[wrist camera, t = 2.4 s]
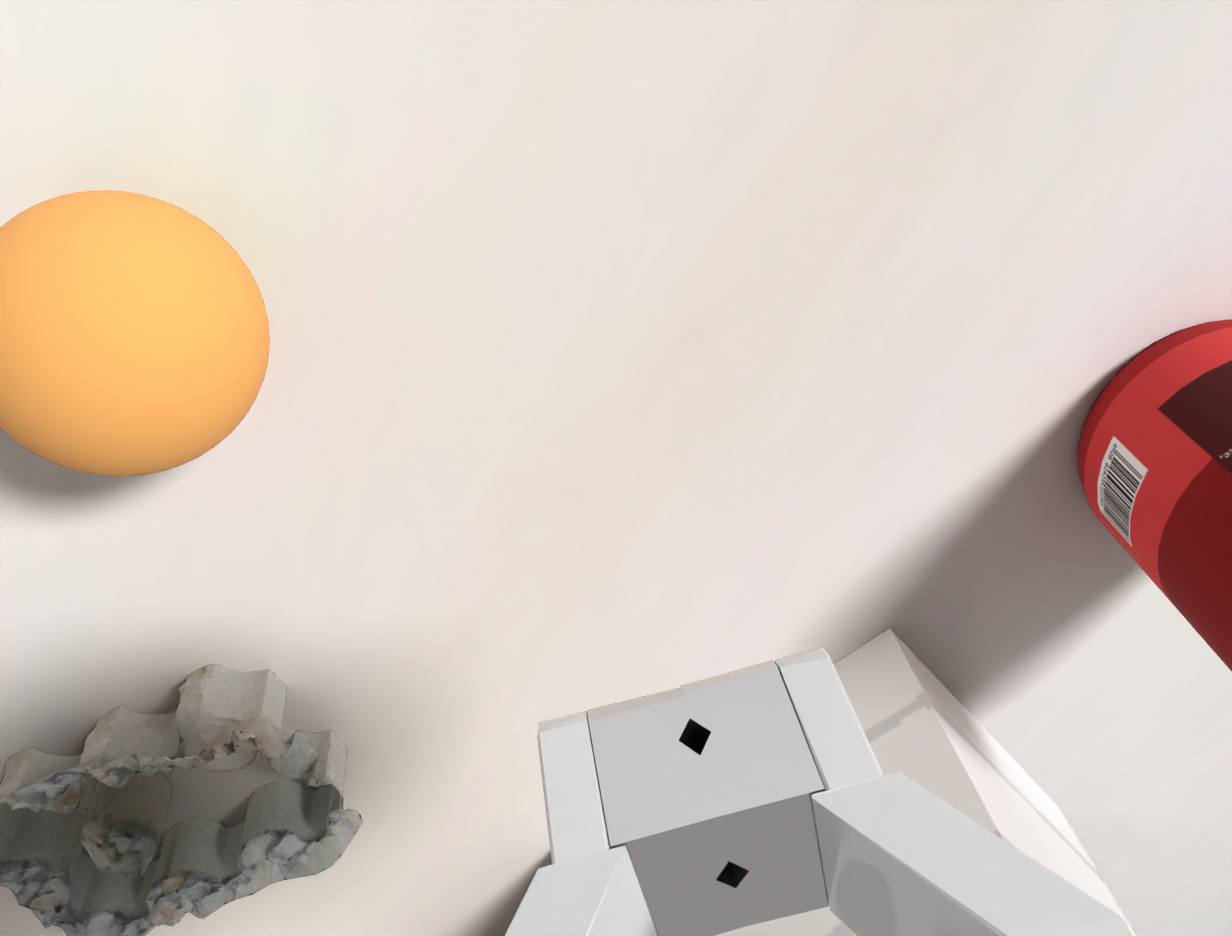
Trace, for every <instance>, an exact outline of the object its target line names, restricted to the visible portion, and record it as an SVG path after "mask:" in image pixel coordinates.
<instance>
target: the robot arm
mask: <svg viewBox="0 0 1232 936" xmlns="http://www.w3.org/2000/svg"><path fill="white" fill-rule="evenodd" d="M537 738H538V747H539V755H540V764H541V772H542V781H543V790H544V798H545V807H546V815H547V824H548V833H549V841H550V850H551V858H552V865H548V866H545V867H542V868H538V869H537V871H536V873H535V875H534V877H533V879H532V881H531V883H530V885H529V887H528V889H527V891H526V893H525V895H524V898H523V900H522V902H521V904H520V906H519V908H518V910H517V912H516V914H515V916H514V918H513V920H512V922H511V924H510V926H509V928H508V930H507V932H506V934H505V936H716V935H719V934H722V933H726V932H729V931H732V930H736V929H739V928H742V927H746V926H750V925H754V924H758V923H763V922H767V921H771V920H775V919H779V918H783V917H787V916H792V915H796V914H800V913H804V912H808V911H812V910H817V909H821V908H825V907H830V911H831V912H832V913H833V914H834V915H835V916H836V917H838V918H839V919H840V920H841V921H842V922H843V923H844V924H845V925H846V926H847V927H848V928H850V929H851V930H852V931H853V932H854V933H855V934H856V935H857V936H1133V935H1132V933H1131V932H1130V930H1129V928H1128V927H1127V925H1126V923H1125V922H1124V920H1123V918H1122V917H1121V916H1120V915H1119V914H1117V913H1115V912H1114V911H1112V910H1111V909H1109V908H1108V907H1106V906H1105V905H1103V904H1102V903H1100V902H1099V901H1097V900H1095V899H1094V898H1092V897H1091V896H1089V895H1088V894H1086V893H1085V892H1083V891H1082V890H1080V889H1078V888H1077V887H1075V886H1074V885H1072V884H1071V883H1069V882H1068V881H1066V880H1065V879H1063V878H1062V877H1060V876H1058V875H1057V874H1055V873H1054V872H1052V871H1051V870H1049V869H1048V868H1046V867H1045V866H1043V865H1042V864H1040V863H1038V862H1037V861H1035V860H1034V859H1032V858H1031V857H1029V856H1028V855H1026V854H1025V853H1023V852H1022V851H1020V850H1018V849H1017V848H1015V847H1014V846H1012V845H1011V844H1009V843H1008V842H1006V841H1005V840H1003V839H1001V838H1000V837H998V836H997V835H995V834H994V833H992V832H991V831H989V830H988V829H986V828H985V827H983V826H981V825H980V824H978V823H977V822H975V821H974V820H972V819H971V818H969V817H968V816H966V815H965V814H963V813H961V812H960V811H958V810H957V809H955V808H954V807H952V806H951V805H949V804H948V803H946V802H945V801H943V800H941V799H940V798H938V797H937V796H935V795H934V794H932V793H931V792H929V791H928V790H926V789H925V788H923V787H921V786H920V785H918V784H917V783H915V782H914V781H912V780H911V779H909V778H908V777H906V776H905V775H903V774H901V773H900V772H895V773H891V774H886V775H884V774H883V772H882V770H881V768H880V766H879V763H878V761H877V759H876V757H875V755H874V752H873V750H872V748H871V746H870V744H869V741H868V739H867V737H866V735H865V733H864V730H863V728H862V726H861V724H860V722H859V719H858V717H857V715H856V713H855V711H854V709H853V706H852V704H851V702H850V700H849V698H848V695H847V693H846V691H845V689H844V687H843V684H842V682H841V680H840V678H839V676H838V673H837V671H836V669H835V667H834V665H833V662H832V660H831V658H830V656H829V654H828V653H827V652H826V651H825V650H824V649H823V648H822V647H821V648H817V649H814V650H810V651H806V652H803V653H799V654H795V655H792V656H788V657H784V658H781V659H777V660H775V662H773V661H772V660H771V661H767V662H764V663H760V664H757V665H753V666H750V667H746V668H743V669H739V670H736V671H732V672H728V673H725V674H721V675H718V676H714V677H711V678H707V679H704V680H700V681H696V682H693V683H689V684H686V685H682V686H681V687H680V688H676V689H672V690H668V691H664V692H660V693H656V694H652V695H647V696H643V697H639V698H635V699H631V700H627V701H623V702H618V703H614V704H610V705H606V706H602V707H598V708H594V709H590V710H588V711H584V712H580V713H576V714H572V715H568V716H564V717H560V718H556V719H552V720H548V721H544V722H540V723H539V727H538V736H537ZM745 925H746V926H745Z"/></svg>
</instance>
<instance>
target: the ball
mask: <svg viewBox="0 0 1232 936" xmlns="http://www.w3.org/2000/svg"><path fill="white" fill-rule="evenodd" d="M269 342H270V337H269V325H268V319H267V314H266V310H265V306H264V302H263V299H262V296H261V293H260V291H259V288H258V286H257V284H256V282H255V280H254V278H253V276H252V275H251V273H250V271H249V269H248V268H247V266H246V264H245V263H244V262H243V260H242V259H241V258H240V256H239V255H238V253H237V252H236V251H235V250H234V249H233V248H232V246H231V245H230V244H229V243H228V242H227V241H226V240H225V239H224V238H223V237H222V236H221V235H220V234H218V233H217V232H216V231H215V230H214V229H213V228H211V227H210V226H209V225H207V224H206V223H204V222H203V221H201V220H200V219H199V218H197V217H196V216H194V215H192V214H190V213H188V212H187V211H185V210H183V209H181V208H179V207H177V206H174V205H172V204H169V203H167V202H165V201H162V200H159V199H156V198H152V197H149V196H145V195H141V194H135V193H129V192H123V191H88V192H77V193H72V194H67V195H62V196H59V197H56V198H53V199H50V200H47V201H44V202H42V203H39V204H37V205H35V206H33V207H31V208H29V209H27V210H25V211H23V212H21V213H19V214H18V215H16V216H15V217H14V218H12V219H11V220H10V221H8V222H7V223H5V224H4V225H3V226H2V227H1V228H0V428H1V429H2V430H3V431H4V432H5V433H7V434H8V435H9V436H10V437H12V438H13V439H14V440H15V441H16V442H18V443H19V444H21V445H22V446H24V447H25V448H27V449H28V450H30V451H31V452H33V453H35V454H37V455H39V456H41V457H43V458H44V459H46V460H49V461H51V462H54V463H56V464H58V465H61V466H64V467H67V468H70V469H74V470H77V471H81V472H86V473H91V474H98V475H108V476H132V475H143V474H150V473H155V472H160V471H164V470H167V469H170V468H173V467H177V466H179V465H182V464H184V463H187V462H189V461H191V460H193V459H195V458H197V457H199V456H201V455H203V454H204V453H206V452H207V451H209V450H210V449H212V448H213V447H215V446H216V445H217V444H219V443H220V442H221V441H222V440H223V439H225V438H226V437H227V436H228V435H229V434H230V433H231V432H232V431H233V430H234V429H235V428H236V427H237V426H238V424H239V423H240V422H241V421H242V420H243V418H244V417H245V416H246V414H247V413H248V411H249V410H250V408H251V406H252V405H253V403H254V401H255V399H256V397H257V395H258V392H259V390H260V387H261V385H262V382H263V380H264V377H265V373H266V368H267V364H268V355H269Z"/></svg>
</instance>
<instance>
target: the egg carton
mask: <svg viewBox="0 0 1232 936" xmlns="http://www.w3.org/2000/svg"><path fill="white" fill-rule="evenodd" d="M179 691H180V703H179V706H178V708H177V710H176V711H173V712H170V713H167V714H145V713H139V712H136V711H133V710H131V709H128V708H127V707H125V706H123V705H120V706H118V707H116V708H115V709H113V710H112V711H110V712H109V713H107V714H106V715H105V716H103V717H102V718H101V719H99V720H98V721H97V723H96V726H95V728H94V729H93V731H92V732H91V733H90V734H89V735H88V737H87V738H86V740H85V747H84V750H83V753H82V754H78V755H74V756H58V755H52V754H47V753H44V752H42V751H39V750H37V749H35V748H33V747H31V748H28V749H25V750H22V751H20V752H19V753H17V754H14V755H13V756H11V757H10V758H9V759H7V760H6V767H5V775H4V778H3V780H2V783H1V785H0V886H4V887H8V888H9V889H10V890H11V891H12V892H13V893H14V895H15V896H16V898H17V900H18V903H19V905H20V906H24V907H26V908H29V909H31V910H32V912H33V913H34V914H35V915H36V917H37V918H38V919H39V920H40V921H41V922H42V924H43V926H44V927H45V929H46V928H48V927H50V926H52V925H55V926H58V927H61V928H63V930H64V932H65V934H66V935H67V936H145V935H146V934H148V933H149V932H150V931H151V930H152V929H153V928H154V927H155V926H159V925H163V924H164V925H168V926H173V925H175V924H176V923H178V922H179V921H180V920H181V919H182V917H183V916H184V915H185V913H187V912H190V913H192V914H193V915H195V916H196V917H198V918H201V919H204V918H205V917H207V916H208V915H210V914H211V913H213V912H214V911H216V910H217V909H219V908H220V907H221V906H223V905H225V904H227V903H229V902H231V901H233V900H236V899H239V898H242V897H245V896H249V895H252V894H254V893H256V892H258V891H259V890H261V889H263V888H264V887H266V886H268V885H269V884H272V883H275V882H279V881H282V880H286V879H292V878H298V877H304V876H310V875H316V874H318V873H320V872H322V871H324V870H326V869H327V868H329V867H331V866H332V865H333V864H334V863H335V862H336V861H337V860H338V859H339V858H340V857H341V855H342V854H343V852H344V850H345V849H346V847H347V846H348V844H349V843H350V841H351V840H352V838H353V837H354V835H355V834H356V832H357V830H358V829H359V827H360V825H361V824H362V822H363V821H362V818H361V815H360V813H359V812H358V811H357V810H351V809H346V810H343V799H344V798H343V796H342V794H343V792H344V789H343V788H344V780H345V775H346V757H347V749H346V746H345V744H344V742H343V741H342V740H341V739H340V738H339V737H338V736H337V734H336V733H335V732H334V731H332V730H327V731H323V732H316V733H303V732H301V731H300V730H297V731H295V730H292V729H290V728H288V727H286V726H284V725H283V713H284V707H285V703H286V692H287V686H286V684H285V683H284V682H283V681H282V680H281V679H280V678H279V677H278V676H277V675H276V674H275V673H274V672H273V671H272V670H271V669H266V670H262V671H255V672H238V671H233V670H229V669H226V668H225V667H223V666H221V665H219V664H211V665H207V666H204V667H202V668H200V669H198V670H196V671H194V672H193V673H191V674H189V675H187V677H186V682H185V683H184V684H183V685H182V686H181V687H180V688H179ZM257 750H258V751H259V752H260V753H261V754H263V755H264V756H266V757H267V758H268V760H269V762H270V765H271V766H272V768H273V769H274V771H275V772H276V773H279V774H280V775H282V776H284V777H286V778H289V779H292V780H295V781H298V780H301V781H306V782H307V785H306V786H305V785H303V784H300V783H296V782H290V781H279V782H273V783H268V784H265V785H263V786H261V787H259V788H258V789H256V790H255V791H254V792H253V793H252V794H251V796H250V798H249V800H248V807H247V813H246V819H245V821H244V822H241V823H239V824H237V825H235V826H232V827H226V826H224V825H222V824H220V823H217V822H214V821H210V820H202V819H195V820H188V821H184V822H181V823H179V824H176V825H174V826H173V827H171V828H170V829H169V830H168V831H167V832H166V834H165V836H164V840H163V844H162V849H161V854H160V858H159V859H158V860H156V861H153V862H151V861H152V859H153V857H154V856H155V854H156V852H157V850H158V848H159V844H160V839H161V835H162V831H163V827H164V823H165V819H166V815H167V811H168V806H169V801H170V796H171V784H170V782H169V780H168V779H167V778H166V777H165V776H164V775H166V776H169V775H170V774H171V773H172V771H173V770H174V769H175V768H176V767H178V768H184V769H191V768H194V767H200V768H202V769H205V770H208V771H213V772H228V771H234V770H238V769H243V768H245V767H246V766H248V765H249V764H250V763H251V762H252V761H253V760H254V758H255V757H256V753H257ZM161 773H162V774H164V775H162V774H161ZM90 774H91V775H92V776H93V777H95V778H96V779H97V780H98V782H97V784H96V787H95V791H94V794H93V797H92V800H91V804H90V806H89V808H87V809H88V812H87V815H86V818H85V821H84V819H83V817H82V816H81V815H79V814H78V813H76V812H74V810H76V809H77V808H78V807H79V802H80V798H81V796H82V794H83V792H84V789H85V787H86V785H87V783H88V780H89V777H90ZM323 785H325V786H323ZM307 786H316V787H318V786H323V787H321V788H318V789H315V790H312V789H310V788H309V787H307ZM24 807H29V808H26V809H24ZM82 810H85V809H82ZM83 846H84V848H85V849H86V851H87V852H88V854H89V856H90V857H89V856H88V855H86V854H85V853H83V852H82V847H83Z"/></svg>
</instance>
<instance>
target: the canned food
mask: <svg viewBox="0 0 1232 936" xmlns="http://www.w3.org/2000/svg"><path fill="white" fill-rule="evenodd" d="M1078 471H1079V475H1080V478H1081V482H1082V486H1083V488H1084V491H1085V494H1086V497H1087V500H1088V503H1089V505H1090V506H1091V508H1092V510H1093V511H1094V513H1095V514H1096V516H1097V518H1098V519H1099V520H1100V521H1101V522H1102V523H1103V525H1104V526H1105V527H1106V528H1107V529H1108V530H1109V531H1110V533H1111V534H1112V535H1113V536H1114V537H1115V538H1116V539H1117V541H1118V542H1119V543H1120V544H1121V545H1122V546H1123V547H1124V549H1125V550H1126V551H1127V552H1128V553H1129V554H1130V555H1131V557H1132V558H1133V559H1134V560H1135V561H1136V562H1137V564H1138V565H1139V566H1140V567H1141V568H1142V569H1143V570H1144V572H1145V573H1146V574H1147V575H1148V576H1149V577H1150V578H1151V580H1152V581H1153V582H1154V583H1155V584H1156V585H1157V586H1158V588H1159V589H1160V590H1161V591H1162V592H1163V593H1164V594H1165V596H1166V597H1167V598H1168V599H1169V600H1170V601H1171V602H1172V604H1173V605H1174V606H1175V607H1176V608H1177V609H1178V610H1179V612H1180V613H1181V614H1182V615H1183V616H1184V617H1185V618H1186V620H1187V621H1188V622H1189V623H1190V624H1191V625H1192V627H1193V628H1194V629H1195V630H1196V631H1197V632H1198V633H1199V635H1200V636H1201V637H1202V638H1203V639H1204V640H1205V641H1206V643H1207V644H1208V645H1209V646H1210V647H1211V648H1212V649H1213V651H1214V652H1215V653H1216V654H1217V655H1218V656H1219V657H1220V659H1221V660H1222V661H1223V662H1224V663H1225V664H1226V665H1227V667H1228V668H1229V669H1230V670H1231V671H1232V320H1222V321H1214V322H1206V323H1203V324H1200V325H1197V326H1193V327H1190V328H1187V329H1184V330H1181V331H1179V332H1177V333H1175V334H1173V335H1171V336H1169V337H1167V338H1165V339H1163V340H1160V341H1159V342H1157V343H1156V344H1154V345H1153V346H1151V347H1150V348H1148V349H1147V350H1145V351H1144V352H1142V353H1141V354H1139V355H1138V356H1137V357H1136V358H1135V359H1133V360H1132V361H1131V362H1130V363H1129V364H1128V365H1127V366H1126V367H1124V368H1123V369H1122V370H1121V371H1120V372H1119V373H1118V374H1117V375H1116V376H1115V378H1114V379H1113V380H1112V381H1111V382H1110V383H1109V385H1108V386H1107V387H1106V388H1105V389H1104V390H1103V392H1102V393H1101V395H1100V396H1099V398H1098V400H1097V401H1096V403H1095V404H1094V406H1093V408H1092V409H1091V411H1090V413H1089V415H1088V418H1087V420H1086V423H1085V425H1084V427H1083V430H1082V433H1081V437H1080V442H1079V447H1078Z"/></svg>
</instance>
